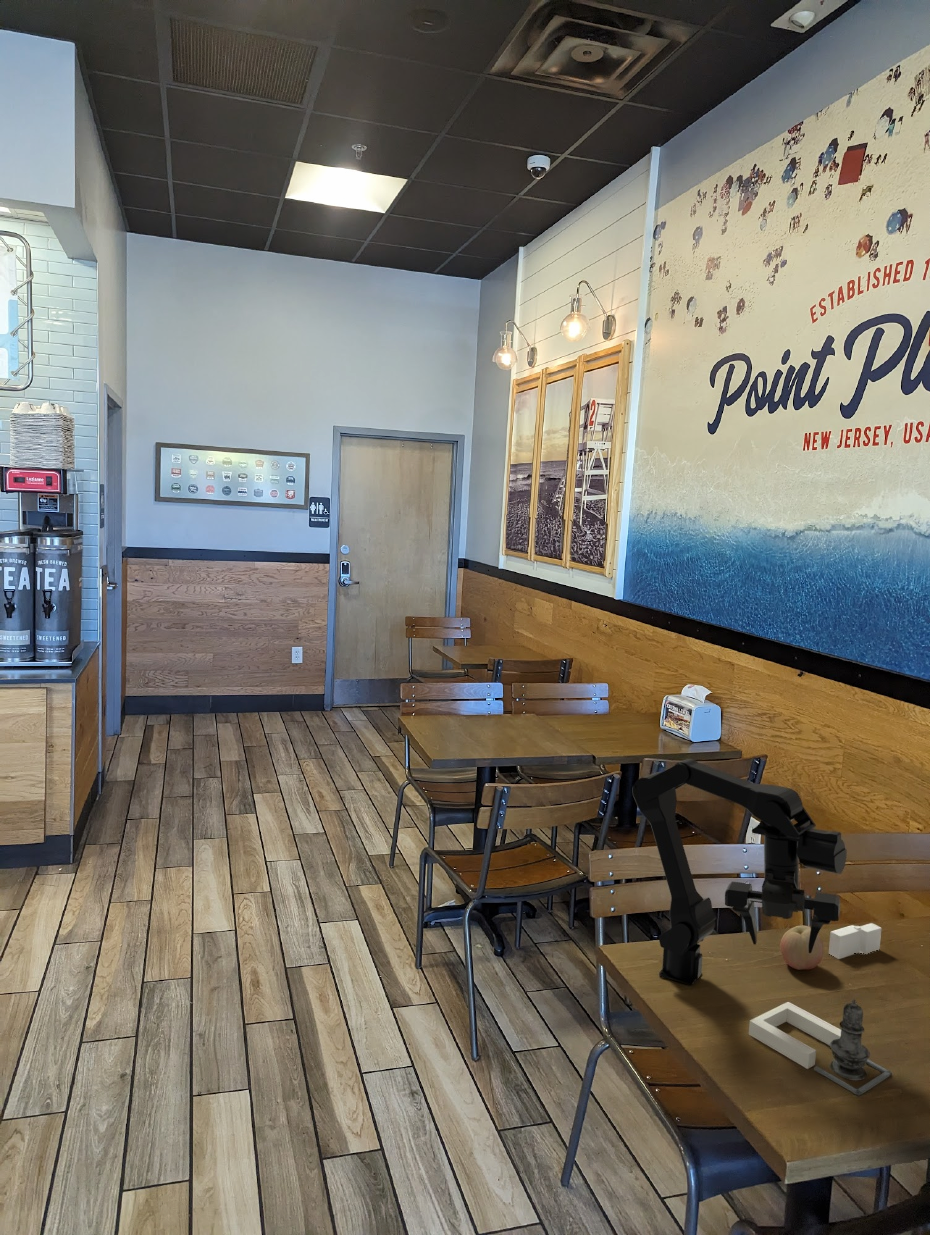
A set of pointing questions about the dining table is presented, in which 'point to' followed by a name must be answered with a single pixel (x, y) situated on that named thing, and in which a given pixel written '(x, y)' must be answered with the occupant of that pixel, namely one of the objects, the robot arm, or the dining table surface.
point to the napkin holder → (854, 940)
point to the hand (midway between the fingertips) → (782, 947)
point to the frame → (864, 1088)
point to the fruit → (801, 948)
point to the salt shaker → (850, 1045)
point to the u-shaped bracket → (785, 1043)
